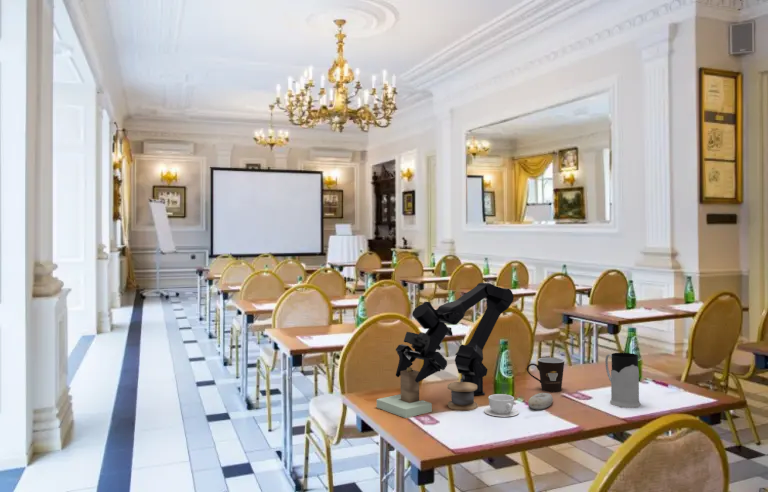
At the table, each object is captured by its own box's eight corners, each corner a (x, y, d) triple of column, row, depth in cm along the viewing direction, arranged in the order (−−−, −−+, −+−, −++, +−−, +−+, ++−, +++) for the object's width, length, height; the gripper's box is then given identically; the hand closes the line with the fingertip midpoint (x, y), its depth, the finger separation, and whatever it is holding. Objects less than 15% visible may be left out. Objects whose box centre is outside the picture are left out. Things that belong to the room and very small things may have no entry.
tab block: (411, 404, 181) (410, 366, 180) (419, 407, 177) (418, 368, 177) (400, 407, 178) (400, 367, 178) (409, 410, 175) (408, 370, 175)
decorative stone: (558, 401, 184) (558, 390, 184) (544, 413, 171) (544, 402, 171) (539, 398, 187) (539, 388, 187) (523, 410, 174) (523, 399, 174)
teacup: (477, 410, 175) (477, 395, 175) (506, 406, 178) (506, 391, 178) (496, 420, 165) (496, 403, 165) (525, 415, 169) (525, 399, 169)
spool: (471, 401, 184) (471, 381, 184) (481, 409, 175) (481, 388, 175) (444, 403, 182) (444, 382, 182) (452, 411, 174) (452, 389, 173)
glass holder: (620, 408, 174) (620, 358, 174) (594, 396, 188) (593, 349, 188) (647, 406, 176) (646, 356, 176) (618, 394, 190) (618, 348, 190)
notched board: (402, 401, 185) (402, 393, 185) (431, 411, 174) (431, 403, 174) (376, 407, 179) (376, 399, 179) (405, 418, 168) (405, 409, 168)
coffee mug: (567, 388, 198) (567, 359, 198) (560, 394, 191) (560, 363, 191) (534, 384, 205) (533, 355, 204) (525, 390, 197) (525, 360, 197)
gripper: (399, 319, 187) (372, 358, 181) (439, 325, 173) (411, 367, 166) (418, 340, 192) (392, 379, 186) (459, 348, 177) (432, 391, 171)
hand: (406, 378), depth 177 cm, fingers open, 9 cm apart
